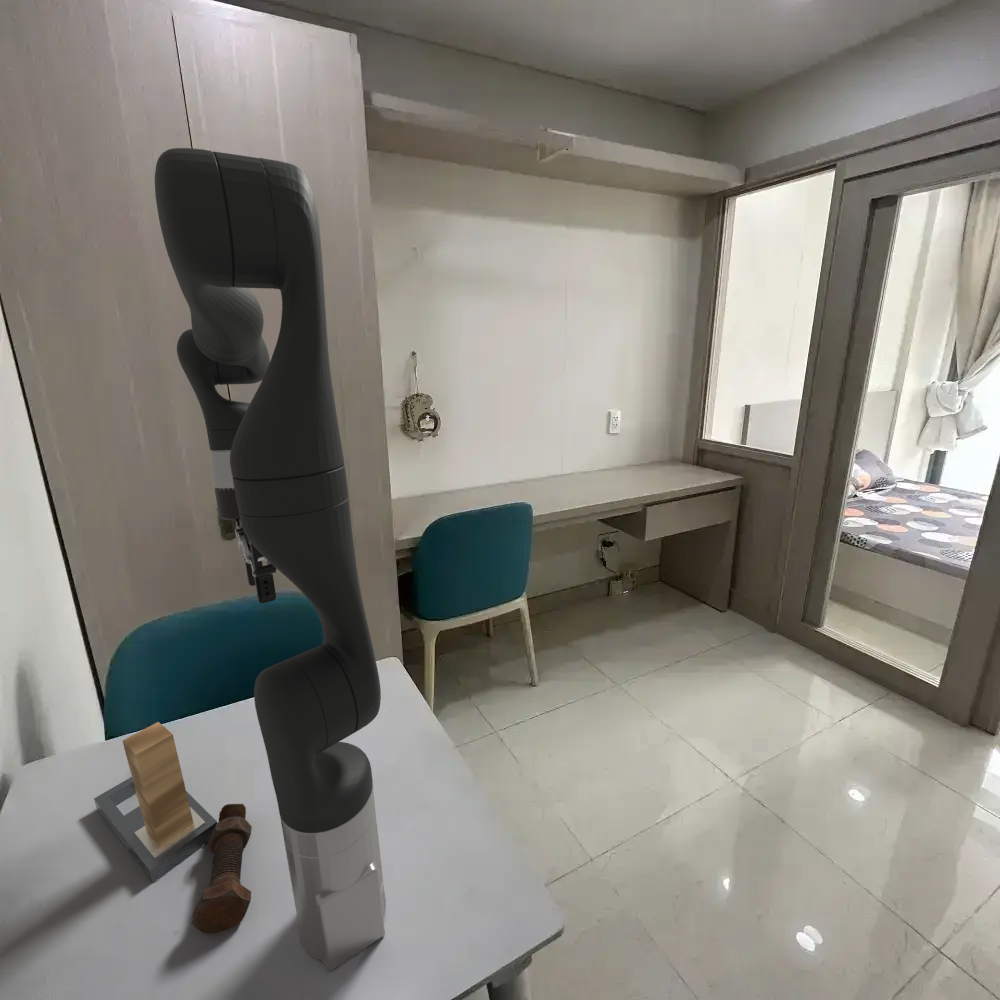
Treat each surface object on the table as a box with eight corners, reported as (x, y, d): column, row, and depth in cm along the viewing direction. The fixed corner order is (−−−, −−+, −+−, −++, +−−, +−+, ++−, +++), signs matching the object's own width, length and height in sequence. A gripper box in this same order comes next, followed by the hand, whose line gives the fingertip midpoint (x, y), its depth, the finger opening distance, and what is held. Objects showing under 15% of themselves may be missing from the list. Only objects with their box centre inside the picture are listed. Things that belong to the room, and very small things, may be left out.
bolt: (243, 830, 71) (234, 938, 57) (204, 827, 68) (185, 937, 55) (261, 793, 70) (255, 892, 57) (222, 788, 68) (207, 890, 55)
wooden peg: (193, 823, 67) (172, 734, 63) (160, 846, 64) (136, 754, 60) (179, 808, 69) (158, 721, 65) (146, 830, 66) (122, 740, 62)
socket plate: (219, 833, 68) (216, 820, 67) (152, 882, 62) (149, 868, 61) (159, 772, 78) (156, 760, 78) (97, 809, 72) (93, 797, 71)
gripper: (209, 479, 74) (227, 585, 77) (219, 491, 62) (240, 615, 66) (264, 472, 78) (279, 573, 81) (284, 482, 66) (301, 600, 70)
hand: (262, 592), depth 74 cm, fingers open, 8 cm apart
